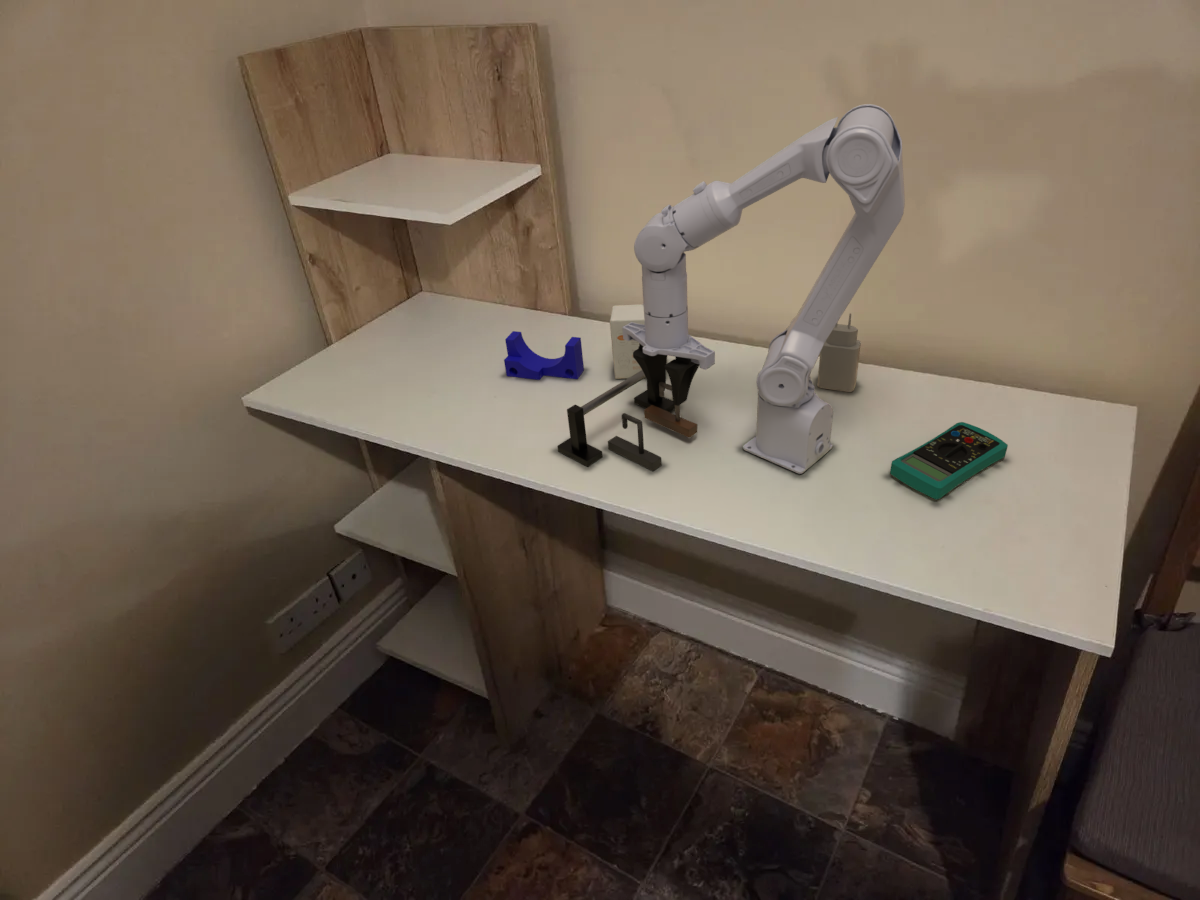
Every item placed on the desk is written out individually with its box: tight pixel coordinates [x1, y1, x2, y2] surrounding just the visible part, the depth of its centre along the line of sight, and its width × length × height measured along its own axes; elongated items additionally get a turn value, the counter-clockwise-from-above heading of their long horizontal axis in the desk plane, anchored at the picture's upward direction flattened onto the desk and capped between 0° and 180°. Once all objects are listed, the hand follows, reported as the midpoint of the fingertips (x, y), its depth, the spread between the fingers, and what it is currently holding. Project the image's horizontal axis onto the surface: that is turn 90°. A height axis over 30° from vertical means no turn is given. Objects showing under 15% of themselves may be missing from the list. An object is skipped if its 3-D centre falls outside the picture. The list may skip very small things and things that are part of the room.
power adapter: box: [816, 312, 862, 393], centre depth 119 cm, size 3×5×12 cm, turn 65°
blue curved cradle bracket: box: [503, 330, 585, 381], centre depth 131 cm, size 12×4×6 cm, turn 70°
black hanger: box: [607, 412, 663, 472], centre depth 110 cm, size 8×2×7 cm, turn 45°
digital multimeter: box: [889, 421, 1009, 500], centre depth 103 cm, size 7×15×3 cm, turn 125°
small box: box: [609, 303, 646, 380], centre depth 128 cm, size 8×6×10 cm
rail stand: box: [557, 370, 675, 468], centre depth 115 cm, size 6×19×8 cm, turn 136°
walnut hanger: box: [643, 382, 698, 439], centre depth 113 cm, size 8×2×7 cm, turn 45°
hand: (669, 397), depth 112 cm, fingers closed on walnut hanger, 3 cm apart
